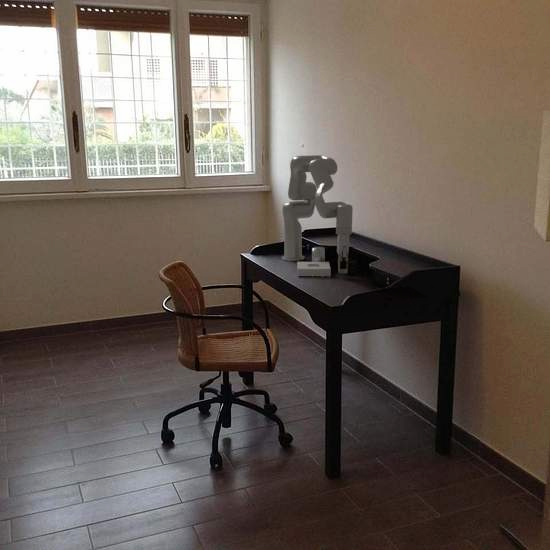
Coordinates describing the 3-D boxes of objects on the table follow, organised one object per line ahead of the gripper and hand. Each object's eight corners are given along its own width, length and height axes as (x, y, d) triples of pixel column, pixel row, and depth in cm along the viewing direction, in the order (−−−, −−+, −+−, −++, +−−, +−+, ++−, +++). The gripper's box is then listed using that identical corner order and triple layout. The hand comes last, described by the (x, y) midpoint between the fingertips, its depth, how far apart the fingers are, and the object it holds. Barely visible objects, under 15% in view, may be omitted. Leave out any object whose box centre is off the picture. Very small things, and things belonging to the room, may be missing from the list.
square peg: (338, 271, 308) (338, 251, 305) (346, 271, 307) (347, 251, 305) (338, 273, 304) (339, 252, 301) (347, 273, 304) (347, 252, 301)
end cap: (336, 270, 322) (336, 257, 320) (349, 269, 323) (350, 256, 322) (343, 274, 312) (343, 261, 311) (356, 274, 314) (356, 260, 312)
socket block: (297, 269, 324) (297, 261, 323) (328, 269, 323) (328, 261, 322) (297, 276, 308) (297, 268, 307) (330, 276, 308) (330, 268, 307)
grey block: (311, 265, 333) (311, 246, 330) (324, 265, 332) (324, 246, 330) (312, 268, 326) (312, 249, 324) (324, 268, 326) (325, 249, 324)
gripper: (334, 227, 309) (333, 263, 313) (337, 233, 292) (336, 272, 297) (350, 227, 308) (349, 263, 313) (353, 233, 292) (352, 272, 297)
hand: (342, 267), depth 305 cm, fingers closed on square peg, 4 cm apart
